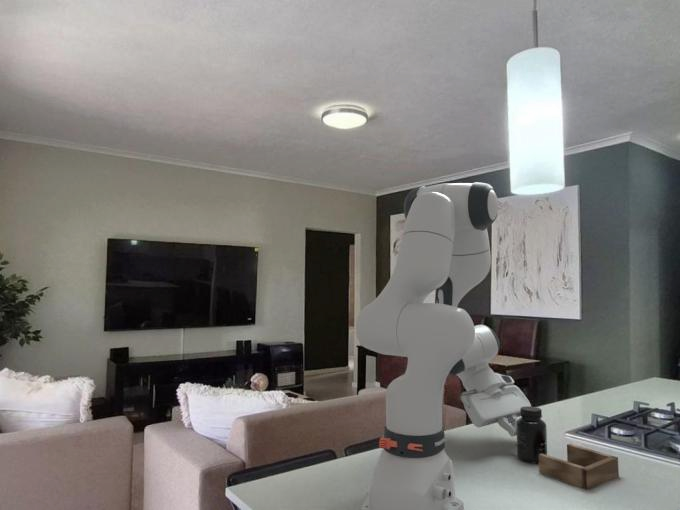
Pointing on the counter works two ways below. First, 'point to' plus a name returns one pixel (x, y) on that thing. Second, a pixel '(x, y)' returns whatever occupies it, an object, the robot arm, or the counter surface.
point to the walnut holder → (580, 467)
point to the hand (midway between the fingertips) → (517, 434)
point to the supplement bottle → (531, 435)
